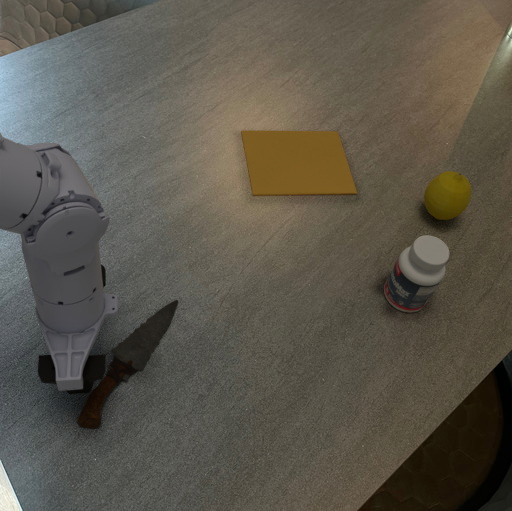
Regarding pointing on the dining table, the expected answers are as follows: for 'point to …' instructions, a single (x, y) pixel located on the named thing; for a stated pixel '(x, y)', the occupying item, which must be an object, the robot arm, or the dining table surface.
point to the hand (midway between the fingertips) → (80, 354)
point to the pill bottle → (417, 274)
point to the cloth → (297, 163)
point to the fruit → (447, 195)
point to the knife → (127, 362)
